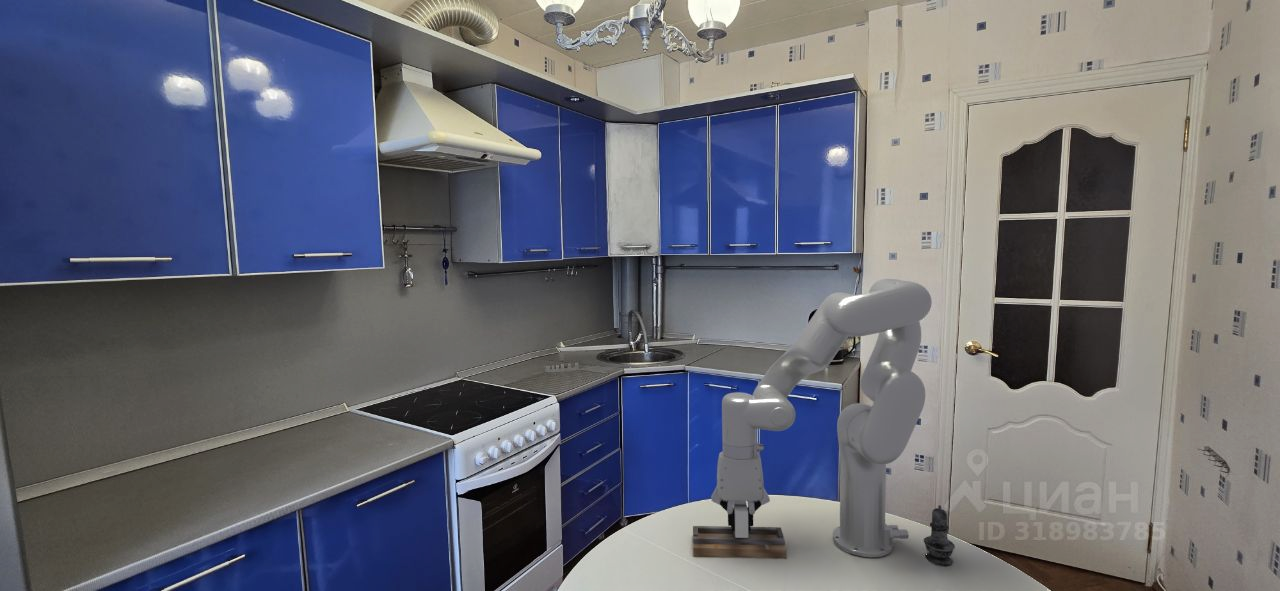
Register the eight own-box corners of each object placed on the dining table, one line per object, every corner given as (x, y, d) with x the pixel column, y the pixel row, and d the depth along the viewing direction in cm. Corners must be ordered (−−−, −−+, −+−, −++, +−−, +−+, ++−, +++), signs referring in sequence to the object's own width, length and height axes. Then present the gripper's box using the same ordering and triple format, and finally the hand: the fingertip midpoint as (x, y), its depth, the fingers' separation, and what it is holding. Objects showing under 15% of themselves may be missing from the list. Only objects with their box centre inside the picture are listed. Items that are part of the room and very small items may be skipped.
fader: (746, 530, 128) (745, 499, 127) (748, 543, 122) (748, 511, 122) (733, 530, 128) (732, 499, 128) (735, 543, 123) (734, 510, 122)
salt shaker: (944, 551, 121) (945, 498, 120) (960, 566, 116) (962, 511, 114) (917, 552, 121) (918, 499, 120) (932, 567, 115) (934, 512, 114)
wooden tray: (779, 536, 129) (779, 521, 129) (786, 558, 120) (786, 542, 120) (693, 535, 131) (692, 520, 131) (693, 556, 122) (693, 540, 122)
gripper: (774, 443, 126) (774, 521, 128) (702, 443, 128) (703, 519, 130) (779, 455, 119) (780, 538, 121) (703, 455, 120) (704, 536, 122)
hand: (740, 527), depth 125 cm, fingers closed on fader, 2 cm apart
